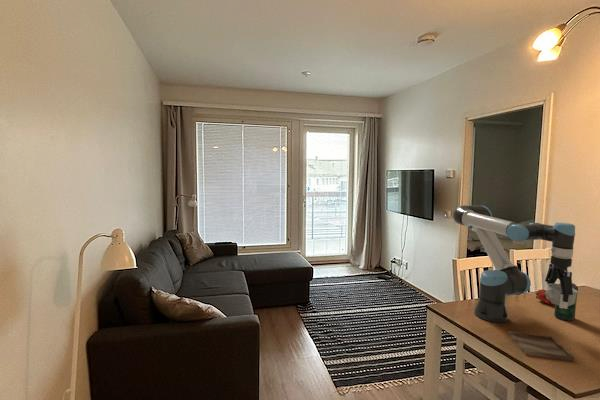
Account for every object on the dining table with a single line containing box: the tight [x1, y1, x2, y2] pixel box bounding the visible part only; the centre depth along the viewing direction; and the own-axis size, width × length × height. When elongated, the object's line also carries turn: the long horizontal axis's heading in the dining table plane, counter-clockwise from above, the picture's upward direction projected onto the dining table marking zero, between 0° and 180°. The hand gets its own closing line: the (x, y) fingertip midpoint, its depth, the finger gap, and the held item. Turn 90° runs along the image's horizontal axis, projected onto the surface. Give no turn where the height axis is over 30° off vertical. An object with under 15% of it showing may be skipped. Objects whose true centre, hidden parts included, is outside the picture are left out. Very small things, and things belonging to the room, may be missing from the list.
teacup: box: [545, 283, 578, 306], centre depth 146 cm, size 14×11×8 cm
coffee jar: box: [553, 282, 579, 322], centre depth 165 cm, size 10×8×19 cm
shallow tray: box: [508, 330, 575, 363], centre depth 136 cm, size 17×17×2 cm
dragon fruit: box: [535, 288, 555, 306], centre depth 185 cm, size 8×8×12 cm
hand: (556, 303), depth 147 cm, fingers closed on teacup, 11 cm apart
